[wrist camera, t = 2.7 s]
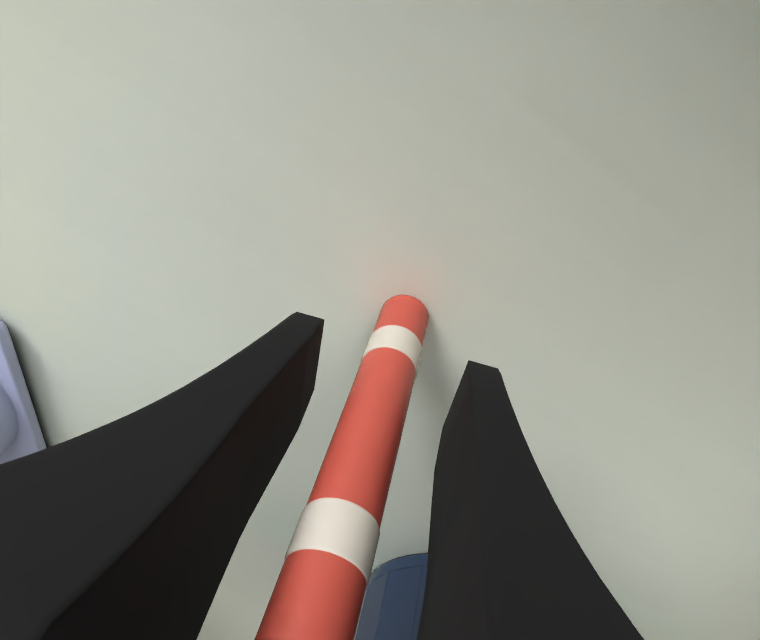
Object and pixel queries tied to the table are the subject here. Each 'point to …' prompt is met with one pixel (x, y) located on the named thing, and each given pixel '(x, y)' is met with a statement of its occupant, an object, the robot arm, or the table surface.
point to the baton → (350, 489)
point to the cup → (394, 600)
